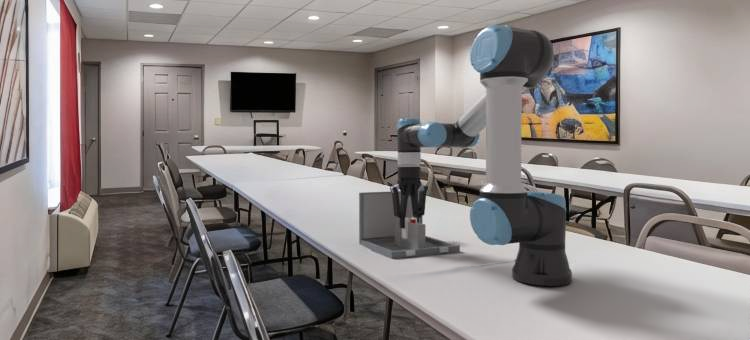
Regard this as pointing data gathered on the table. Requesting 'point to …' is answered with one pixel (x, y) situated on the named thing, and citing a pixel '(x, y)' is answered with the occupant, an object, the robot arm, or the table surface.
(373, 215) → the equipment case
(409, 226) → the cassette player
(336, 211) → the table surface
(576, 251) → the table surface
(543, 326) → the table surface
